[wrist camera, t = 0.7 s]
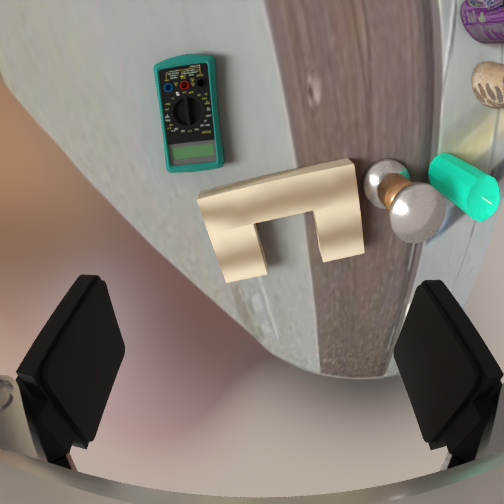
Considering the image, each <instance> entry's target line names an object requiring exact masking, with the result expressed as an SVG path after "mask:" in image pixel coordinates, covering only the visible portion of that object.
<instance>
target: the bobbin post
mask: <svg viewBox="0 0 504 504" xmlns="http://www.w3.org/2000/svg"><path fill="white" fill-rule="evenodd" d="M362 185H363V191H364V194H365V196H366V197H367V199H368V200H369V201H370V202H371V203H372V204H373V205H374V206H376V207H378V208H382V209H387V210H388V211H389V222H390V225H391V228H392V229H393V231H394V232H395V233H396V235H397V236H398V237H399V238H400V239H401V240H403V241H405V242H408V243H420V242H423V241H426V240H428V239H429V238H431V237H432V236H433V235H434V234H435V233H436V232H437V231H438V230H439V228H440V227H441V225H442V223H443V221H444V217H445V211H446V207H445V201H444V199H443V196H442V195H441V193H440V192H439V191H438V190H437V189H435V188H434V187H433V186H431V185H429V184H427V183H424V182H415V183H413V182H411V181H410V176H409V173H408V171H407V169H406V168H405V167H404V166H403V165H402V164H400V163H399V162H397V161H395V160H393V159H381V160H378V161H376V162H374V163H373V164H372V165H371V166H370V167H369V168H368V169H367V171H366V172H365V174H364V177H363V184H362Z"/></svg>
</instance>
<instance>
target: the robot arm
mask: <svg viewBox="0 0 504 504" xmlns="http://www.w3.org/2000/svg"><path fill="white" fill-rule="evenodd" d="M124 354H125V345H124V342H123V339H122V336H121V332H120V329H119V326H118V323H117V320H116V317H115V313H114V310H113V307H112V303H111V300H110V296H109V293H108V289H107V285H106V283H105V281H103V280H101V278H100V277H99V276H97V275H80V276H79V277H78V278H77V280H76V281H75V282H74V284H73V285H72V287H71V288H70V289H69V291H68V292H67V294H66V295H65V296H64V298H63V299H62V301H61V302H60V304H59V305H58V306H57V308H56V309H55V311H54V312H53V314H52V315H51V317H50V318H49V320H48V321H47V323H46V324H45V326H44V328H43V329H42V330H41V332H40V333H39V335H38V336H37V338H36V340H35V341H34V343H33V344H32V346H31V348H30V349H29V351H28V353H27V354H26V356H25V357H24V359H23V361H22V362H21V364H20V366H19V368H18V370H17V371H16V373H17V374H18V377H17V378H16V380H14V379H13V378H12V377H10V376H7V375H0V504H504V383H503V384H502V383H501V381H500V380H501V378H502V377H503V375H504V374H503V372H502V371H501V369H500V367H499V365H498V364H497V362H496V360H495V359H494V357H493V355H492V354H491V352H490V351H489V349H488V347H487V346H486V344H485V342H484V341H483V339H482V338H481V336H480V335H479V333H478V332H477V330H476V328H475V327H474V325H473V324H472V323H471V321H470V319H469V318H468V317H467V315H466V314H465V312H464V311H463V309H462V308H461V306H460V305H459V304H458V302H457V301H456V299H455V298H454V296H453V295H452V294H451V292H450V291H449V290H448V288H447V287H446V285H445V284H444V283H443V282H442V281H441V280H425V281H423V282H422V283H421V285H419V286H418V287H417V289H416V291H415V294H414V297H413V300H412V303H411V306H410V308H409V311H408V314H407V317H406V319H405V322H404V324H403V327H402V330H401V332H400V335H399V337H398V340H397V342H396V345H395V347H394V358H395V361H396V364H397V366H398V369H399V371H400V374H401V377H402V379H403V382H404V385H405V387H406V390H407V393H408V396H409V398H410V401H411V404H412V407H413V410H414V413H415V415H416V418H417V421H418V424H419V427H420V430H421V433H422V436H423V439H424V441H425V442H428V443H429V446H430V449H431V450H434V449H437V448H441V447H444V446H446V445H447V448H448V453H447V456H446V458H445V461H444V463H443V466H442V468H441V470H440V471H439V472H436V473H432V474H429V475H426V476H422V477H418V478H414V479H410V480H406V481H401V482H398V483H393V484H388V485H383V486H378V487H372V488H366V489H360V490H354V491H347V492H340V493H331V494H322V495H311V496H298V497H297V496H296V497H271V498H270V497H269V498H248V497H222V496H208V495H196V494H186V493H178V492H170V491H164V490H157V489H151V488H145V487H140V486H135V485H130V484H125V483H121V482H116V481H112V480H108V479H104V478H99V477H96V476H92V475H88V474H84V473H81V472H78V471H77V469H76V467H75V464H74V462H73V460H72V458H71V455H70V453H69V452H70V449H71V446H72V445H73V446H76V447H80V448H83V449H87V447H88V443H89V441H90V442H91V441H93V440H94V438H95V436H96V433H97V430H98V427H99V424H100V421H101V418H102V415H103V412H104V409H105V406H106V403H107V400H108V398H109V395H110V392H111V389H112V386H113V384H114V381H115V378H116V376H117V372H118V370H119V368H120V364H121V362H122V360H123V357H124Z"/></svg>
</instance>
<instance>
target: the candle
mask: <svg viewBox="0 0 504 504" xmlns="http://www.w3.org/2000/svg"><path fill="white" fill-rule="evenodd" d="M428 175H429V180H430V183H431V184H432V186H433V187H434V188H435V189H437V190H438V191H439V192H440V193H441V194H442V195H444V196H445V197H446V198H448V199H449V200H450V201H451V202H453V203H454V204H455V205H456V206H458V207H459V208H460V209H461V210H463V211H464V212H465V213H466V214H467V215H469V216H470V217H471V218H472V219H475V220H478V221H481V222H482V221H484V220H486V219H488V218H489V217H491V215H492V214H493V213H494V212H495V211H496V210H497V208H498V205H499V201H500V198H501V197H500V191H499V186H498V184H497V181H496V179H495V178H494V177H492V176H490V175H489V174H487V173H485V172H483V171H482V170H480V169H478V168H476V167H474V166H473V165H471V164H469V163H467V162H465V161H463V160H462V159H460V158H458V157H456V156H454V155H451V154H448V153H443V154H440V155H437V156H436V157H435V159H434V160H433V161H432V162H431V164H430V168H429V171H428Z"/></svg>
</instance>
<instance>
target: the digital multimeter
mask: <svg viewBox="0 0 504 504" xmlns="http://www.w3.org/2000/svg"><path fill="white" fill-rule="evenodd" d="M208 72H209V73H208ZM154 74H155V81H156V87H157V94H158V101H159V107H160V114H161V123H162V131H163V139H164V150H165V160H166V169H167V171H168V172H170V173H176V172H195V171H203V170H210V169H215V168H220V167H222V166H223V164H224V153H223V146H222V139H221V133H220V124H219V115H218V105H217V89H216V66H215V58H214V57H212V56H209V55H198V54H187V55H181V56H176V57H173V58H170V59H167V60H164V61H162V62H160V63H157V64H155V65H154ZM209 83H210V85H209ZM197 99H198V100H197ZM202 106H203V107H202ZM199 121H200V122H199Z"/></svg>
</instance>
